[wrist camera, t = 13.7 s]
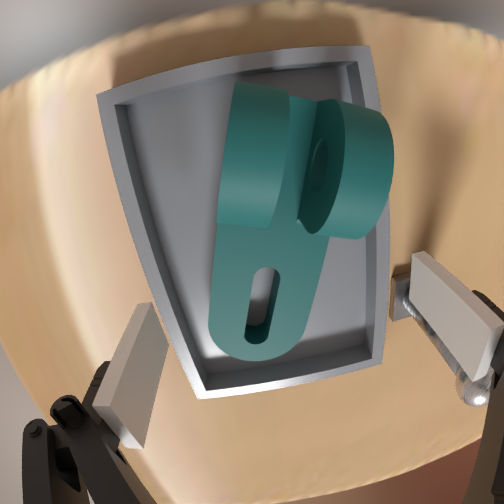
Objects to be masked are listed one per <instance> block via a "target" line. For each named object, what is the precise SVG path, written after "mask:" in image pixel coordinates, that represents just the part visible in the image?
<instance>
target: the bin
mask: <svg viewBox="0 0 504 504" xmlns="http://www.w3.org/2000/svg"><path fill="white" fill-rule="evenodd" d="M235 81H237V82H245V83H253V84H260V85H266V86H272V87H278V88H284V89H287V91H288V94H289V96H294V97H299V98H304V99H309V100H314V101H322V100H326V99H336V100H340V101H344V102H348V103H351V104H355V105H359V106H362V107H366V108H369V109H372V110H376V111H378V112H380V113H381V107H380V100H379V94H378V87H377V82H376V76H375V71H374V65H373V60H372V55H371V51H370V46H316V47H301V48H289V49H279V50H270V51H263V52H255V53H249V54H242V55H236V56H230V57H225V58H220V59H215V60H210V61H205V62H201V63H196V64H192V65H188V66H184V67H180V68H176V69H172V70H169V71H165V72H162V73H158V74H155V75H151V76H148V77H145V78H142V79H139V80H135V81H132V82H129V83H127V84H124V85H121V86H118V87H115V88H113V89H110V90H107V91H105V92H102V93H99V94H97V95H96V97H97V102H98V107H99V112H100V117H101V122H102V127H103V131H104V136H105V140H106V145H107V149H108V153H109V157H110V161H111V165H112V169H113V173H114V177H115V181H116V184H117V188H118V191H119V195H120V199H121V202H122V205H123V209H124V212H125V216H126V219H127V222H128V225H129V229H130V232H131V235H132V238H133V241H134V244H135V247H136V250H137V253H138V256H139V259H140V262H141V265H142V267H143V270H144V273H145V276H146V279H147V281H148V284H149V287H150V289H151V292H152V295H153V297H154V300H155V303H156V305H157V308H158V310H159V313H160V315H161V318H162V320H163V323H164V325H165V328H166V330H167V332H168V335H169V337H170V340H171V342H172V344H173V346H174V349H175V351H176V353H177V356H178V358H179V360H180V362H181V365H182V367H183V369H184V371H185V373H186V375H187V378H188V380H189V382H190V384H191V386H192V388H193V390H194V392H195V394H196V396H197V398H198V399H207V398H216V397H224V396H232V395H240V394H247V393H253V392H260V391H266V390H272V389H277V388H283V387H288V386H293V385H298V384H303V383H308V382H313V381H317V380H322V379H326V378H330V377H334V376H338V375H342V374H346V373H350V372H354V371H358V370H361V369H365V368H368V367H372V366H375V365H379V364H382V358H383V350H384V340H385V331H386V319H387V306H388V290H389V264H390V215H389V195H388V199H387V202H386V204H385V207H384V209H383V212H382V214H381V216H380V218H379V219H378V221H377V223H376V224H375V226H374V227H373V228H372V230H371V231H370V232H369V233H368V234H367V235H366V236H364V237H363V238H361V239H357V240H353V239H345V238H338V237H330V239H329V243H328V247H327V251H326V255H325V259H324V263H323V267H322V271H321V275H320V278H319V282H318V286H317V290H316V293H315V297H314V300H313V304H312V308H311V311H310V315H309V318H308V322H307V325H306V328H305V331H304V334H303V336H302V337H301V339H300V340H299V342H298V343H297V344H296V345H295V346H294V347H293V348H292V349H291V350H289V351H288V352H286V353H284V354H283V355H281V356H278V357H276V358H273V359H269V360H264V361H245V360H240V359H237V358H234V357H232V356H230V355H228V354H226V353H224V352H223V351H222V350H220V349H219V348H218V347H217V346H216V344H215V343H214V342H213V340H212V338H211V336H210V334H209V330H208V316H209V304H210V293H211V282H212V271H213V261H214V251H215V242H216V232H217V223H216V220H217V208H218V198H219V188H220V179H221V171H222V163H223V155H224V148H225V140H226V133H227V126H228V120H229V113H230V107H231V101H232V95H233V90H234V85H235ZM274 272H275V269H274V268H271V267H264V268H261V269H259V270H258V271H257V272H256V273H255V275H254V278H253V284H252V290H251V296H250V303H249V309H248V315H247V321H246V324H248V325H251V326H257V325H260V324H261V323H263V322H264V320H265V317H266V312H267V307H268V302H269V297H270V292H271V287H272V282H273V277H274Z"/></svg>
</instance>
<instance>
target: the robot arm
mask: <svg viewBox="0 0 504 504" xmlns="http://www.w3.org/2000/svg"><path fill="white" fill-rule="evenodd" d="M409 300H410V301H411V303H412V304H413V305H414V306H415V307H416V309H417V310H418V311H419V312H420V313H421V315H422V316H423V317H424V318H425V320H426V321H427V322H428V323H429V325H430V326H431V327H432V328H433V330H434V331H435V332H436V334H437V335H438V336H439V337H440V339H441V340H442V341H443V343H444V344H445V345H446V347H447V348H448V349H449V351H450V352H451V353H452V355H453V356H454V357H455V359H456V360H457V361H458V363H459V364H460V365H461V367H462V368H463V370H464V371H465V372H466V374H467V375H468V377H469V378H470V379H471V381H472V382H474V381H476V380H478V379H480V378H482V377H484V376H486V374H487V371H488V369H489V367H490V366H491V367H492V368H493V369H494V372H493V374H492V377H491V379H490V381H489V383H488V385H487V388H486V389H489V387H490V385H491V388H490V395H489V402H488V408H487V414H486V420H485V425H484V430H483V435H482V439H481V444H480V448H479V452H478V456H477V460H476V463H475V467H474V470H473V473H472V477H471V480H470V483H469V486H468V489H467V492H466V495H465V498H464V500H463V503H462V504H504V312H503V311H502V310H500V309H499V308H498V307H496V305H495V304H494V303H493V302H491V300H490V299H489V298H487V297H486V296H485V295H484V294H482V293H480V292H478V291H476V290H473V291H471V290H469V289H468V288H467V287H466V286H465V285H464V284H463V283H462V282H461V281H459V280H458V279H457V278H456V277H455V276H454V275H453V274H451V273H450V272H449V271H448V270H447V269H446V268H444V267H443V266H442V265H441V264H440V263H438V262H437V261H436V260H435V259H434V258H432V257H431V256H430V255H429V254H428V253H426V252H425V251H421V252H416V253H412V263H411V279H410V291H409ZM168 347H169V343H168V341H167V339H166V336H165V334H164V332H163V329H162V327H161V324H160V322H159V319H158V317H157V314H156V312H155V309H154V307H153V304H152V302H148V303H141V304H138V305H137V307H136V309H135V311H134V313H133V315H132V317H131V319H130V321H129V323H128V325H127V327H126V329H125V332H124V334H123V336H122V338H121V340H120V342H119V344H118V347H117V349H116V351H115V353H114V355H113V358H112V360H111V361H105V362H104V363H103V364H102V365H101V366H100V367H99V368H98V369H97V371H96V373H95V375H94V377H93V380H92V382H91V384H90V386H89V388H88V391H87V393H86V395H85V397H84V400H83V402H82V404H81V403H80V402H79V400H78V399H77V398H76V397H75V396H73V395H65V396H63V397H60V398H59V399H57V400H56V401H55V402H54V404H53V405H52V407H51V409H50V415H51V417H52V418H53V419H54V420H55V421H56V422H57V425H52V426H49V425H48V424H47V423H46V422H45V421H44V420H43V419H34V420H32V421H30V422H29V423H28V424H27V425H26V427H25V428H24V432H23V444H22V488H23V504H90V502H89V497H88V493H87V489H88V491H89V493H90V495H91V497H92V499H93V501H94V503H95V504H157V503H156V502H155V500H154V499H153V498H152V496H151V495H150V494H149V492H148V491H147V490H146V488H145V487H144V485H143V484H142V483H141V481H140V480H139V478H138V477H137V475H136V474H135V472H134V471H133V469H132V468H131V466H130V465H129V463H128V462H127V460H126V458H125V457H124V455H123V454H122V452H121V451H120V450H119V449H118V445H119V442H120V441H121V442H122V443H123V444H124V446H125V447H126V448H136V449H143V448H144V444H145V439H146V435H147V430H148V426H149V422H150V418H151V413H152V409H153V405H154V401H155V397H156V393H157V389H158V385H159V381H160V377H161V373H162V369H163V365H164V362H165V358H166V354H167V350H168ZM86 487H87V488H86Z"/></svg>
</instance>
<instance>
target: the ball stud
mask: <svg viewBox="0 0 504 504" xmlns="http://www.w3.org/2000/svg"><path fill="white" fill-rule="evenodd" d="M410 279H411V272H410V273H406V274H402V275H398V276H394V277H392V280H391V298H390V312H389V317H390V318H391V320H392V321H397V320H400V319H403V318H407V317H410V316H412V317H413V318H414V319H415V321H416V322H417V323H418V325H419V326H420V327H421V328H422V330H423V331H424V332H425V334H426V335H427V336H428V338H429V339H430V340H431V342H432V343H433V344H434V346H435V347H436V349H437V350H438V351H439V353H440V354H441V355H442V357H443V358H444V360H445V361H446V362H447V364H448V365H449V367H450V368H451V369H452V371H453V372H454V374H455V375H456V382H455V384H456V391H457V394H458V396H459V398H460V399H461V400H462V401H463V402H464V403H465V404H467V405H469V406H473V407H481V406H485V405H487V404H488V402H489V395H490V388H491V385H490V387H489V389H486V388H487V385H488V383H489V381H490V379H491V377H492V374H493V372H494V369H493V368H492V367H491V366H490V367H489V369H488V371H487V374H486V376H484V377H482V378H480V379H478V380H476V381H474V382H472V381H471V379H470V378H469V377H468V375H467V374H466V372H465V371H464V370H463V368H462V367H461V365H460V364H459V363H458V361H457V360H456V359H455V357H454V356H453V355H452V353H451V352H450V351H449V349H448V348H447V347H446V345H445V344H444V343H443V341H442V340H441V339H440V337H439V336H438V335H437V334H436V332H435V331H434V330H433V328H432V327H431V326H430V325H429V323H428V322H427V321H426V320H425V318H424V317H423V316H422V315H421V313H420V312H419V311H418V310H417V309H416V307H415V306H414V305H413V304H412V303H411V301H410V300H409V291H410Z"/></svg>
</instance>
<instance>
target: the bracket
mask: <svg viewBox="0 0 504 504" xmlns="http://www.w3.org/2000/svg"><path fill="white" fill-rule="evenodd" d="M393 168H394V146H393V139H392V134H391V130H390V127H389V125H388V123H387V121H386V119H385V118H384V116H383V115H382V114H381V113H380V112H378V111H376V110H372V109H369V108H366V107H362V106H359V105H355V104H351V103H348V102H344V101H340V100H336V99H326V100H322V101H314V100H309V99H304V98H299V97H294V96H289V94H288V91H287V89H284V88H278V87H272V86H266V85H260V84H253V83H245V82H237V81H235V85H234V90H233V95H232V101H231V107H230V113H229V120H228V126H227V133H226V140H225V148H224V155H223V163H222V171H221V179H220V188H219V198H218V208H217V220H216V223H217V232H216V242H215V251H214V261H213V271H212V282H211V293H210V304H209V316H208V330H209V334H210V336H211V338H212V340H213V342H214V343H215V344H216V346H217V347H218V348H219V349H220V350H222V351H223V352H224V353H226V354H228V355H230V356H232V357H234V358H237V359H240V360H245V361H264V360H269V359H273V358H276V357H278V356H281V355H283V354H284V353H286V352H288V351H289V350H291V349H292V348H293V347H294V346H295V345H296V344H297V343H298V342H299V340H300V339H301V337H302V336H303V334H304V331H305V328H306V325H307V322H308V318H309V315H310V311H311V308H312V304H313V300H314V297H315V293H316V290H317V286H318V282H319V278H320V275H321V271H322V267H323V263H324V259H325V255H326V251H327V247H328V243H329V239H330V237H338V238H345V239H353V240H357V239H361V238H363V237H364V236H366V235H367V234H368V233H369V232H370V231H371V230H372V228H373V227H374V226H375V224H376V223H377V221H378V219H379V218H380V216H381V214H382V212H383V209H384V207H385V204H386V202H387V199H388V195H389V192H390V187H391V183H392V177H393ZM264 267H271V268H274V269H275V272H274V277H273V282H272V287H271V292H270V297H269V302H268V307H267V312H266V317H265V320H264V322H263V323H261V324H260V325H257V326H251V325H248V324H246V321H247V315H248V309H249V303H250V296H251V290H252V284H253V278H254V275H255V273H256V272H257V271H258V270H259V269H261V268H264Z"/></svg>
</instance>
